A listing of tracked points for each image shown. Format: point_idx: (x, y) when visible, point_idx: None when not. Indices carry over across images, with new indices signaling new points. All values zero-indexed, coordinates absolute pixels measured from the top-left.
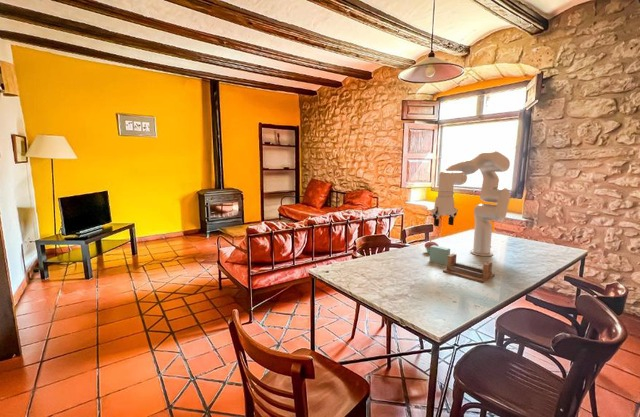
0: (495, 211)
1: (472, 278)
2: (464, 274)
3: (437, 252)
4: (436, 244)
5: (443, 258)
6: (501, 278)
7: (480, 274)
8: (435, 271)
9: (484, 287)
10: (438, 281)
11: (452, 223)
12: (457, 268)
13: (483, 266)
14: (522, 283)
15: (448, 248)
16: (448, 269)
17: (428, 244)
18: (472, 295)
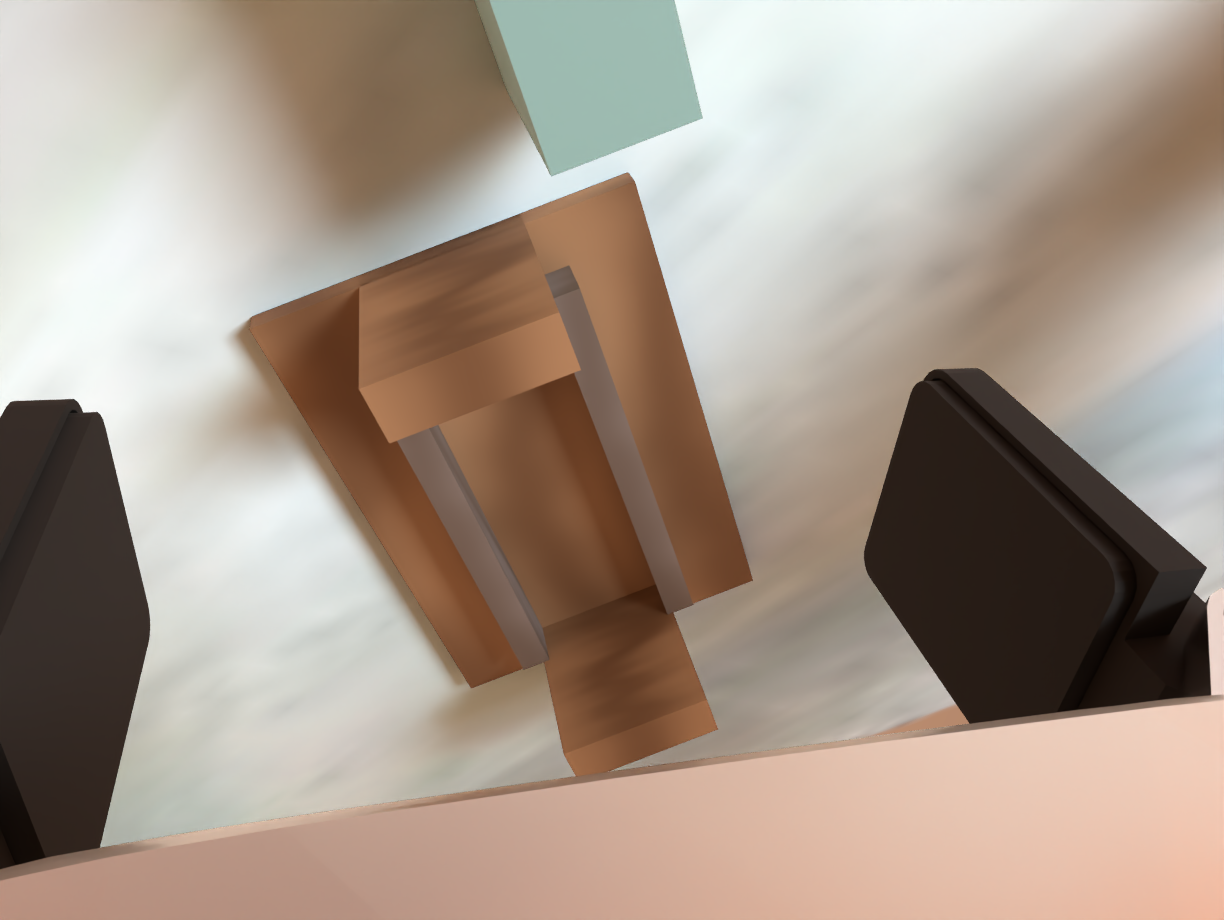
0: None
1: (427, 616)
2: (423, 527)
3: None
4: None
5: (502, 63)
6: (736, 625)
7: (518, 657)
8: (139, 267)
9: (393, 740)
10: None
11: (904, 609)
12: (410, 460)
13: (559, 733)
14: (779, 726)
15: (676, 95)
16: (348, 335)
17: None
18: (150, 834)
